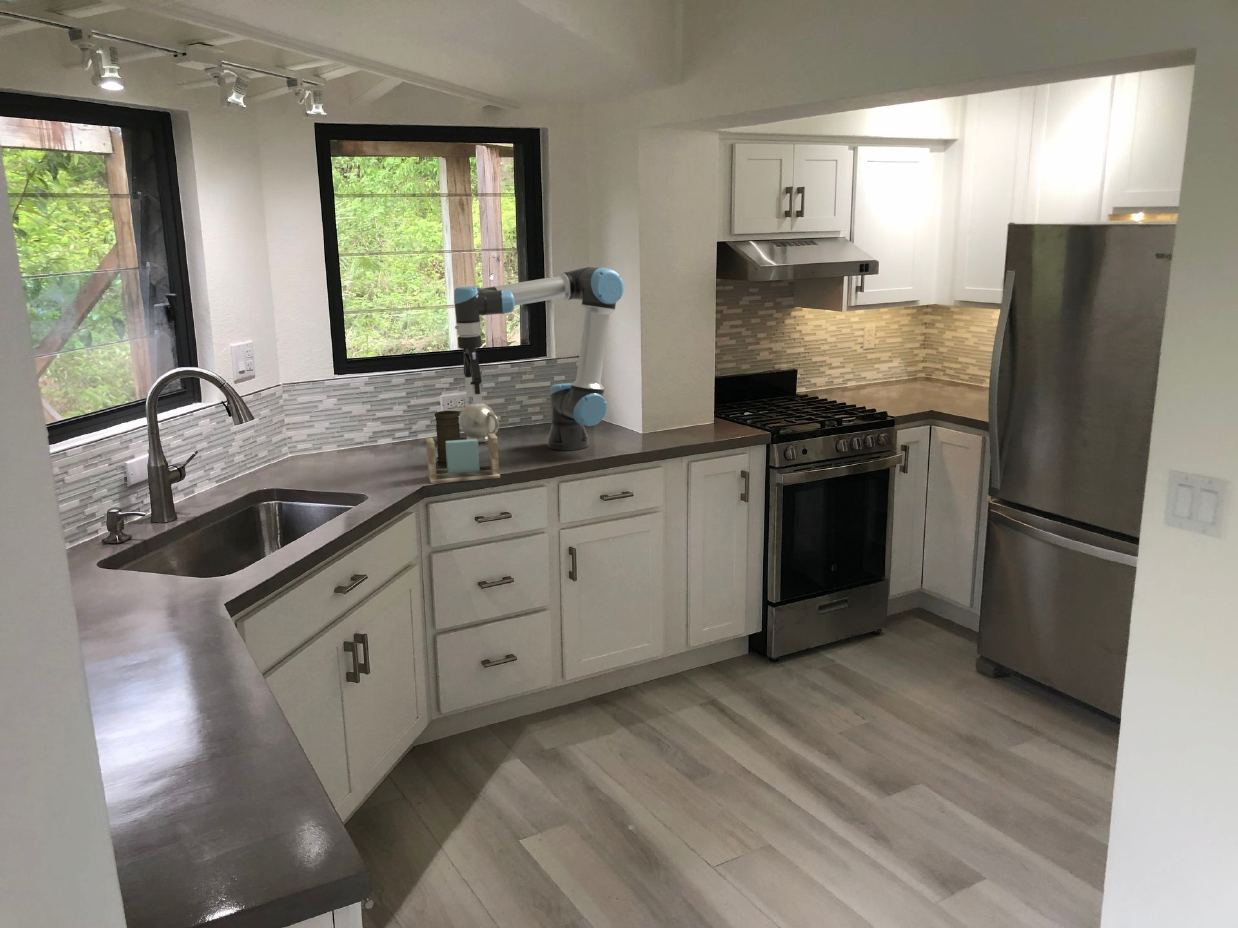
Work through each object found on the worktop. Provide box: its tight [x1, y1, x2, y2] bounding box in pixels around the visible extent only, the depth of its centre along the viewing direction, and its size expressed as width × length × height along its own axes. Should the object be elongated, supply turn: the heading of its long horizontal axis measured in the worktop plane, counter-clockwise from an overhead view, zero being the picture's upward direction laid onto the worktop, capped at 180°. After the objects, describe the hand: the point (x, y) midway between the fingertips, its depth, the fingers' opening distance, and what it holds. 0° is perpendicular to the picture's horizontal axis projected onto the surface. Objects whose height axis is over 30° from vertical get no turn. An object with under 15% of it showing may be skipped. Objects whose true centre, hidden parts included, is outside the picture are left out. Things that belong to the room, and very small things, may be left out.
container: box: [434, 410, 461, 468], centre depth 328 cm, size 9×9×18 cm
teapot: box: [458, 402, 500, 444], centre depth 362 cm, size 18×14×16 cm
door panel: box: [445, 438, 480, 474], centre depth 313 cm, size 10×4×11 cm, turn 106°
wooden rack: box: [425, 433, 501, 484], centre depth 313 cm, size 22×11×13 cm, turn 106°
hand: (474, 400), depth 318 cm, fingers open, 13 cm apart
